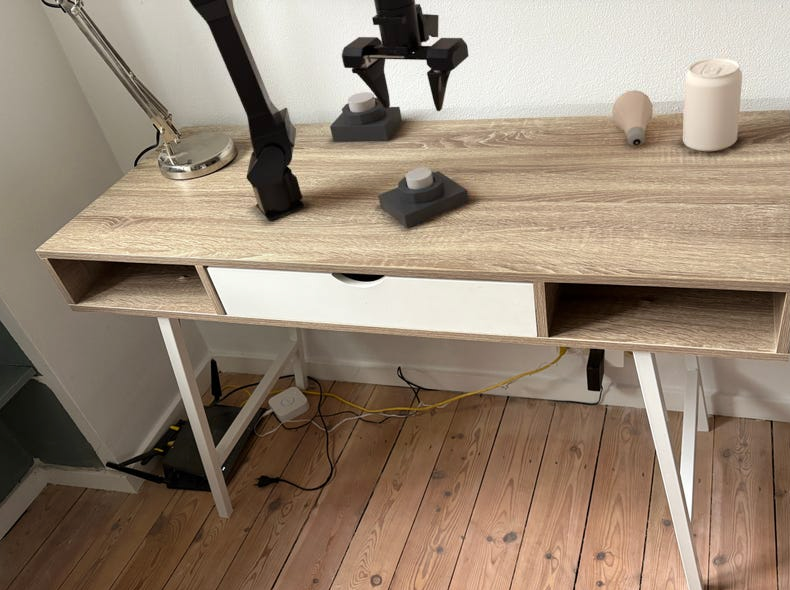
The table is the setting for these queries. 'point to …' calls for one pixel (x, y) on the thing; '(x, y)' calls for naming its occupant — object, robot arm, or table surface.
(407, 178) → the small button
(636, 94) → the light bulb
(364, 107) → the large button
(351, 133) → the dark grey button mount
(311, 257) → the table surface
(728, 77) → the beverage can
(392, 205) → the dark grey button base
